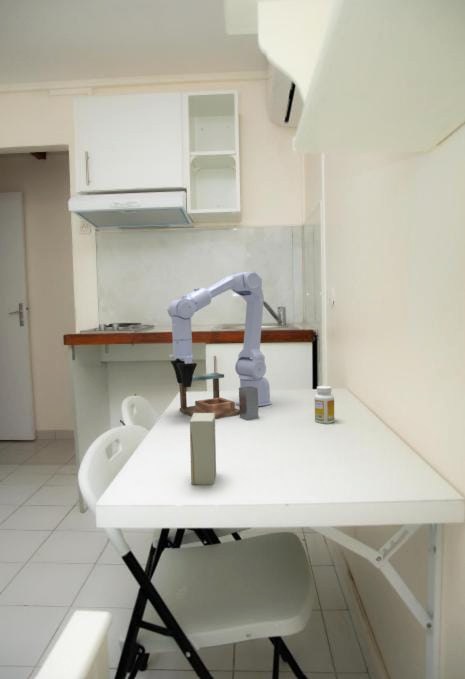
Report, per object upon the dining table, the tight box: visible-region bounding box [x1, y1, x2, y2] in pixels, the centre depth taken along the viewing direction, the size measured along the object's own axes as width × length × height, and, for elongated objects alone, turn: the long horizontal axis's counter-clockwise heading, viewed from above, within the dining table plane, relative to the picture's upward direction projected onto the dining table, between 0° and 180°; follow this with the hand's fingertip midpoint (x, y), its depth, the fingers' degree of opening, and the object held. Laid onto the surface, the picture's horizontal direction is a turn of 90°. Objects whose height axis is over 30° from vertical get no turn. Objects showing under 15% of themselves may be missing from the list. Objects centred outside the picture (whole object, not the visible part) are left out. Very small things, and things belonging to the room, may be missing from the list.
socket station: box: [179, 372, 240, 420], centre depth 137 cm, size 14×16×11 cm
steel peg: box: [238, 386, 259, 421], centre depth 129 cm, size 4×4×9 cm
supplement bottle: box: [314, 385, 335, 424], centre depth 123 cm, size 5×5×10 cm
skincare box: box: [189, 413, 217, 485], centre depth 83 cm, size 6×4×12 cm
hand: (184, 385), depth 131 cm, fingers open, 7 cm apart
